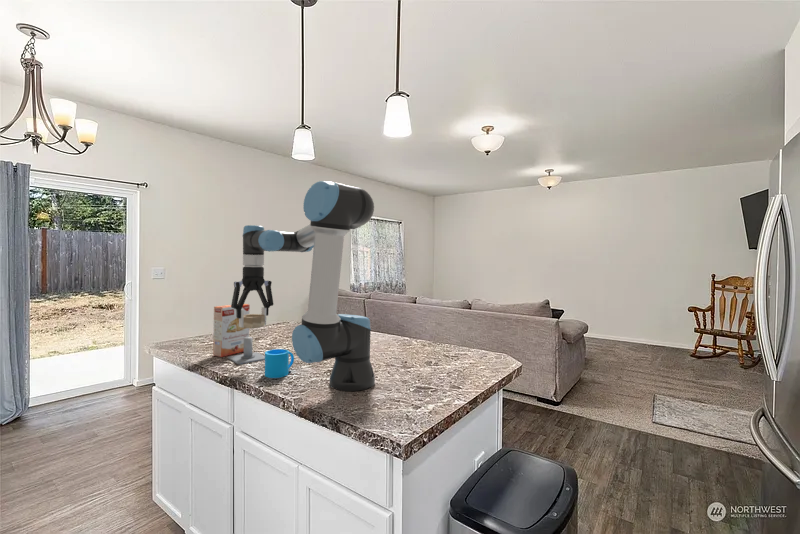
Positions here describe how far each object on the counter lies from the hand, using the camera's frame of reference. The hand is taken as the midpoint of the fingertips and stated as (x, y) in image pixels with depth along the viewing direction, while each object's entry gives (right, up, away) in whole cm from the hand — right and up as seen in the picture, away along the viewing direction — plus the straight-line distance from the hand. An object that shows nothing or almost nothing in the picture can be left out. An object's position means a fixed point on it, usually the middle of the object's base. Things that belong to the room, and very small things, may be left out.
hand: (252, 325), depth 142 cm
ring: (0, 0, 0) cm, 0 cm away
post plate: (-6, -15, +10) cm, 19 cm away
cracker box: (-16, -15, +18) cm, 29 cm away
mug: (+13, -16, -7) cm, 22 cm away
